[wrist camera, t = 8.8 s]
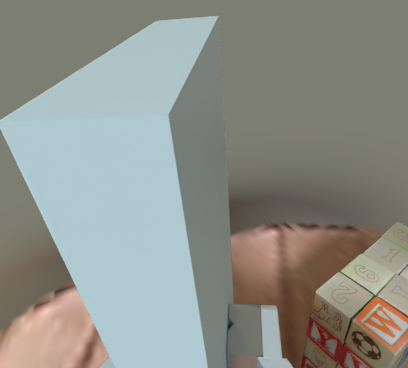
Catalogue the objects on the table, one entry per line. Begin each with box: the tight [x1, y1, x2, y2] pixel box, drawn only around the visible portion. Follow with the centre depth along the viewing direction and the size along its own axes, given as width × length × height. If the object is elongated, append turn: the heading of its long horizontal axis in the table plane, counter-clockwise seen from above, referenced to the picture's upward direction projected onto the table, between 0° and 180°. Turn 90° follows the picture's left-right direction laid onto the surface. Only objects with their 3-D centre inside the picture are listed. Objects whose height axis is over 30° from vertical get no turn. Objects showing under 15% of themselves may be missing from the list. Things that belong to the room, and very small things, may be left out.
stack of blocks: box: [301, 222, 408, 368], centre depth 30 cm, size 21×6×12 cm, turn 126°
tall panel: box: [0, 16, 234, 368], centre depth 11 cm, size 2×6×20 cm, turn 174°
